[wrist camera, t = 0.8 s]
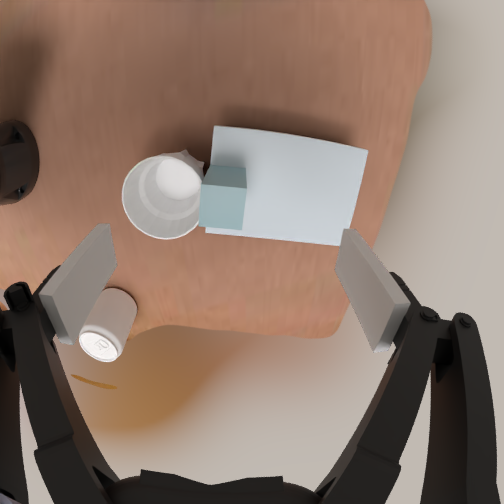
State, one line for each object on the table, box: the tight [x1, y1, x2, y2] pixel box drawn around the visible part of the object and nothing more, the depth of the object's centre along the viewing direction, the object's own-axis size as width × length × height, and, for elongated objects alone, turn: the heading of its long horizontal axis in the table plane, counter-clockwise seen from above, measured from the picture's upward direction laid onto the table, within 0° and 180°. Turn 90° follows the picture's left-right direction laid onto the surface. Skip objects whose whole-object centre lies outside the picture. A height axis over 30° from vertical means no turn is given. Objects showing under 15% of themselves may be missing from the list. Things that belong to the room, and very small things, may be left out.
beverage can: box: [79, 288, 137, 362], centre depth 45 cm, size 8×8×12 cm
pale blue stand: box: [198, 125, 368, 246], centre depth 30 cm, size 18×13×9 cm
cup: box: [122, 149, 204, 239], centre depth 35 cm, size 10×10×10 cm
